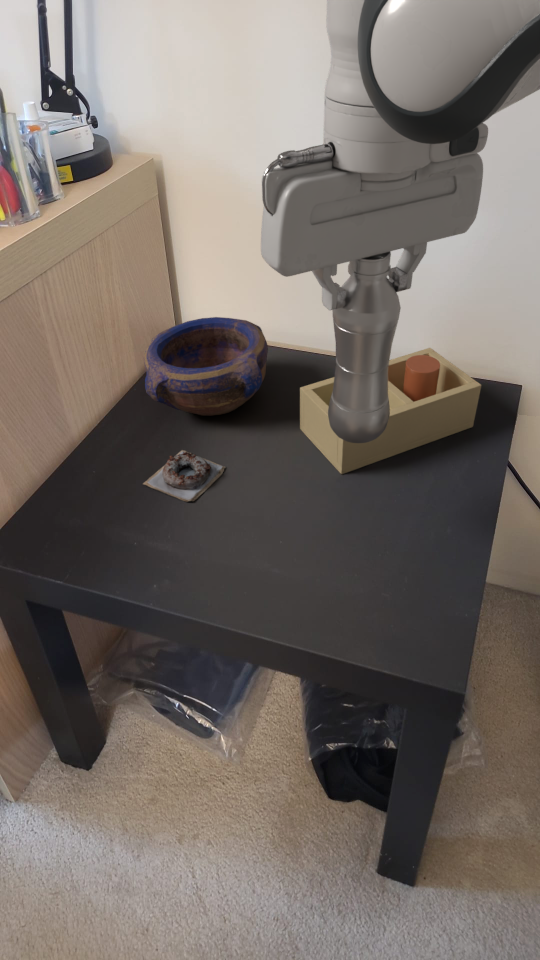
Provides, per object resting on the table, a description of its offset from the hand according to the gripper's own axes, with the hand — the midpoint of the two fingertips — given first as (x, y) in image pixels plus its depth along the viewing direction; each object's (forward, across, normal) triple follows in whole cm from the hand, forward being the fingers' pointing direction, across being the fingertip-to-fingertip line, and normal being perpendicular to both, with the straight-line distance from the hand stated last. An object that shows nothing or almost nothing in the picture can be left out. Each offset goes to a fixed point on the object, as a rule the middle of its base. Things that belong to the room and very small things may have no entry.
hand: (367, 297), depth 63 cm
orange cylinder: (+28, +20, +14) cm, 37 cm away
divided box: (+30, +15, +14) cm, 36 cm away
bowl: (+30, -4, +33) cm, 45 cm away
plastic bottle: (+16, 0, 0) cm, 16 cm away
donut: (+30, -14, +18) cm, 38 cm away
